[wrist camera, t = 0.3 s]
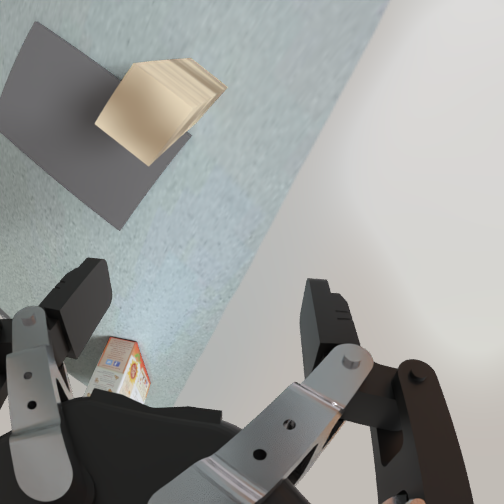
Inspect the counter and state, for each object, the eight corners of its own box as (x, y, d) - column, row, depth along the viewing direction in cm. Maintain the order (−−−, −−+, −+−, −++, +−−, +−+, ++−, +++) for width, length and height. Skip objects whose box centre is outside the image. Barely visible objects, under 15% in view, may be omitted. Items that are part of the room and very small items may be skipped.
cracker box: (108, 334, 53) (65, 433, 36) (138, 340, 53) (99, 445, 36) (125, 377, 61) (95, 463, 44) (151, 382, 61) (125, 472, 44)
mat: (37, 21, 24) (34, 21, 24) (191, 135, 33) (190, 136, 32) (-7, 122, 31) (-9, 123, 31) (121, 229, 40) (119, 231, 40)
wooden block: (190, 58, 28) (133, 63, 16) (227, 87, 29) (193, 109, 18) (161, 94, 30) (94, 123, 19) (197, 122, 32) (148, 166, 20)
